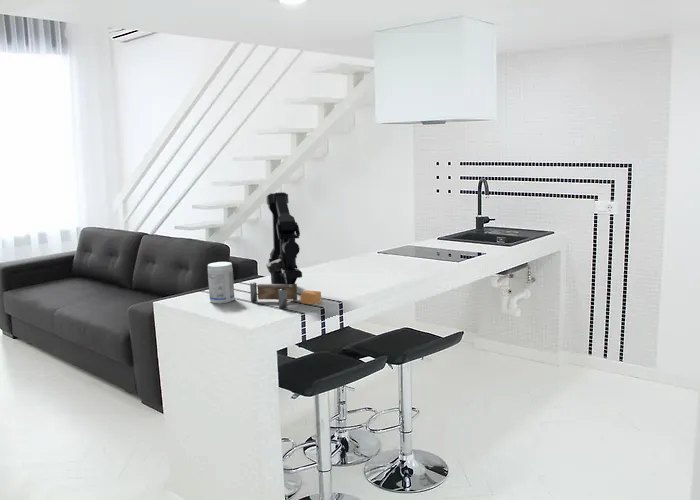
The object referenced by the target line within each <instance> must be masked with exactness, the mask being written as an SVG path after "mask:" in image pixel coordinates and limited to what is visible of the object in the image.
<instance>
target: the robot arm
mask: <svg viewBox="0 0 700 500" xmlns="http://www.w3.org/2000/svg"><path fill="white" fill-rule="evenodd" d="M288 204H289V194H288V193H286V192H284V191H282V192H275V193H272V192H271V193H269V194H267V195H266V205H268V206H267V207H268V210H269V211H270V213H271V214H272V241H273V245H272V246H273V248H272V250H271V251H270V253H269V258H268V262H267V263H266V265H265V266H266V269H267V271H268V273H269V274H270V279H271V280H270V281H271V282H270V284H296V282H297V280H298V279H300V278H303V272H302V271H301V270H300V268H298V265H297V258H298V255H299V253H300V250H301V248H300V245H299V244H298V243H297V241H296V239H300V236H301V231H300V227H299V224H298V222H296V220H295V217H294V216H293V215H291V213H290V210H289V206H288Z"/></svg>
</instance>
